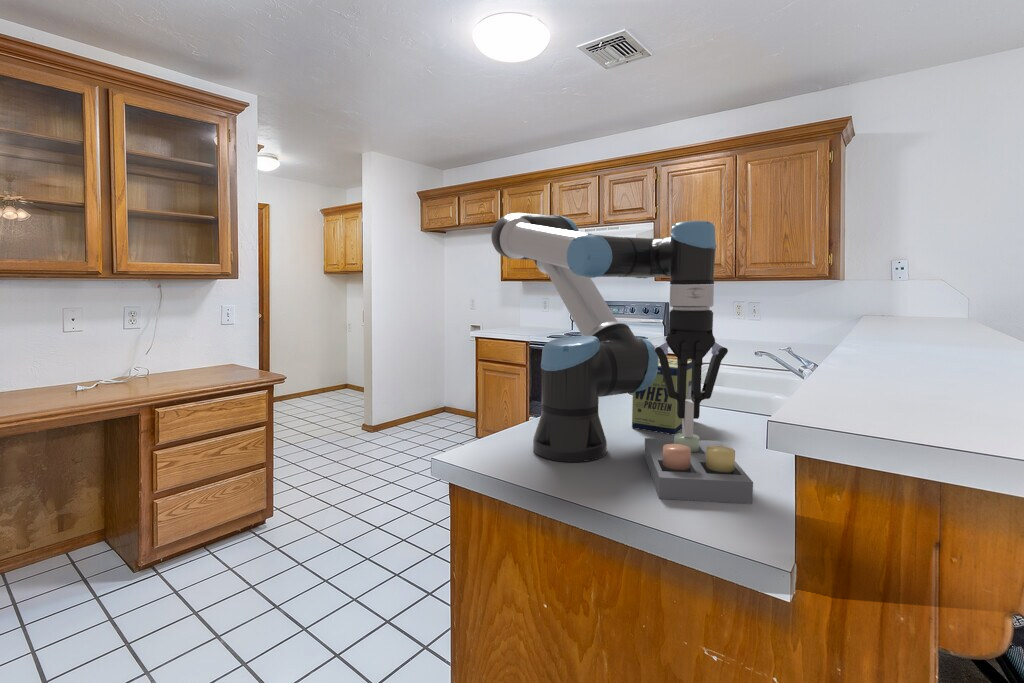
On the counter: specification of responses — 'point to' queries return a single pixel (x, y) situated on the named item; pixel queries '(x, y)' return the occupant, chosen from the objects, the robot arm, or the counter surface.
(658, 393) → the protein box
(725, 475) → the console
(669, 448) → the terracotta button
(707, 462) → the mustard button
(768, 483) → the counter surface
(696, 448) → the sage button
